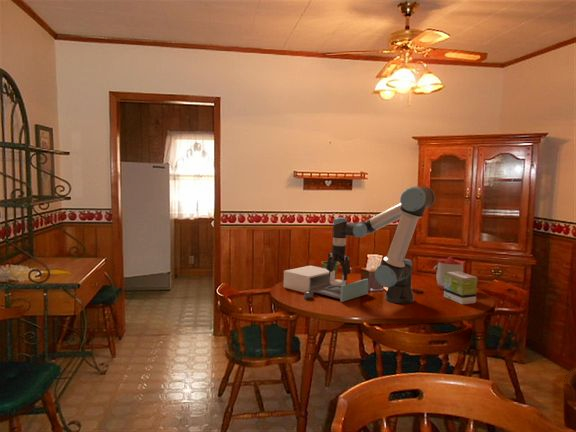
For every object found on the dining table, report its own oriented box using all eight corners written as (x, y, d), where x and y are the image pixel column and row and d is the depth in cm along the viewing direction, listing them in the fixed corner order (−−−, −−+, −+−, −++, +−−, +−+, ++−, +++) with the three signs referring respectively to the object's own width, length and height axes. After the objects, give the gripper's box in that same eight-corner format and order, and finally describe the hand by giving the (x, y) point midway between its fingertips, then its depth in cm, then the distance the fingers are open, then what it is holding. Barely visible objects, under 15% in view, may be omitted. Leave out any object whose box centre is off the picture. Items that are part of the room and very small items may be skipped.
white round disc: (347, 284, 256) (347, 281, 256) (339, 287, 250) (339, 283, 250) (336, 282, 261) (336, 278, 261) (327, 284, 256) (328, 281, 255)
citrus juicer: (432, 284, 285) (434, 253, 283) (462, 287, 279) (464, 255, 277) (431, 289, 270) (433, 257, 268) (462, 293, 264) (464, 259, 262)
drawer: (367, 293, 256) (368, 278, 256) (342, 301, 239) (342, 286, 238) (334, 285, 273) (335, 272, 272) (308, 293, 255) (308, 278, 254)
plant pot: (340, 282, 284) (340, 264, 283) (321, 281, 284) (321, 264, 283) (338, 278, 296) (338, 261, 295) (320, 277, 296) (320, 260, 295)
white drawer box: (334, 286, 273) (335, 270, 272) (308, 293, 255) (309, 276, 254) (309, 280, 286) (310, 265, 285) (283, 287, 269) (283, 270, 268)
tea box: (442, 297, 254) (444, 271, 253) (457, 296, 258) (458, 270, 256) (461, 304, 240) (463, 277, 239) (476, 303, 244) (478, 276, 242)
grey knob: (314, 298, 246) (315, 292, 246) (308, 300, 243) (309, 293, 242) (308, 296, 250) (308, 290, 249) (302, 298, 246) (302, 292, 246)
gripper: (320, 243, 258) (319, 281, 260) (350, 248, 244) (348, 289, 246) (328, 241, 263) (327, 279, 265) (358, 246, 249) (356, 286, 251)
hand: (337, 284), depth 256 cm, fingers closed on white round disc, 8 cm apart
